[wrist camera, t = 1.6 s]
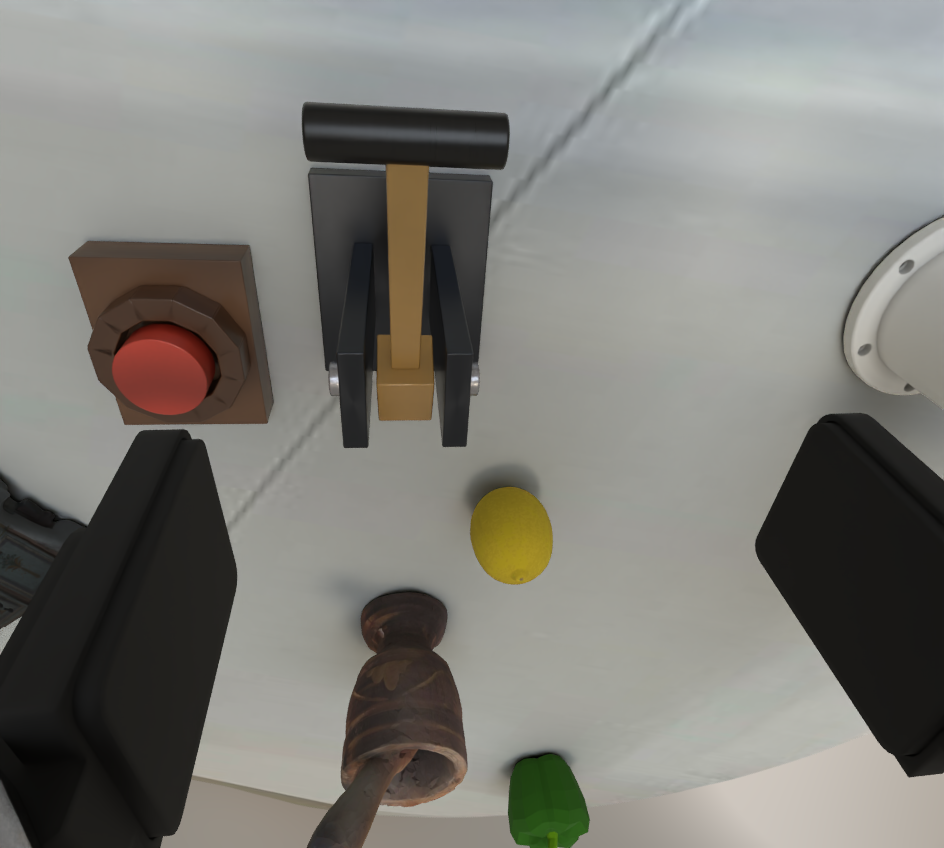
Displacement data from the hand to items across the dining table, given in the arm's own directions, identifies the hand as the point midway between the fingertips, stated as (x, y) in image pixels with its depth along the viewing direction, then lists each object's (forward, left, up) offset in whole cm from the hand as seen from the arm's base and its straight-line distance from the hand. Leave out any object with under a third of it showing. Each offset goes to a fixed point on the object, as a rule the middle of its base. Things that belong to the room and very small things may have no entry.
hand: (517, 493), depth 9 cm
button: (+17, +2, -22) cm, 28 cm away
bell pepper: (+21, +64, -26) cm, 72 cm away
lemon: (+7, +23, -26) cm, 35 cm away
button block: (+17, +2, -25) cm, 30 cm away
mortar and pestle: (+21, +30, -26) cm, 44 cm away
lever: (+2, 0, -13) cm, 13 cm away
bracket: (+5, +5, -25) cm, 26 cm away
